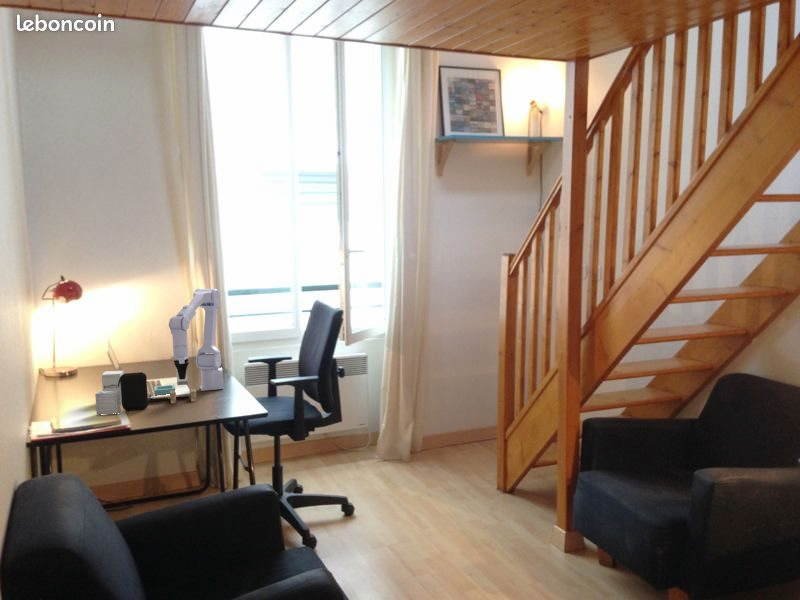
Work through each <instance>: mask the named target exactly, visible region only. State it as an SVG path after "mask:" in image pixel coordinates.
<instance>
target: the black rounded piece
mask: <svg viewBox="0 0 800 600" xmlns="http://www.w3.org/2000/svg"><path fill="white" fill-rule="evenodd" d="M147 380H148V379H147V374H146V373H145V372H141V371H140V372H138V371H137V372H129V373H127V372H126V373H123V375H122V376H121V377H120V379H119V382H118V386H119V384H121V398H122V404H121V408H122V409H123V410H125V411H138V410H139V411H140V410H145V409H147V408H148V407H149V397H148V381H147Z"/></svg>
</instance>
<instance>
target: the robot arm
mask: <svg viewBox="0 0 800 600" xmlns="http://www.w3.org/2000/svg"><path fill="white" fill-rule="evenodd" d="M220 304H221V294H220V291H219V290H218V289H217V288H196V289H195V290H194V291H193V295H192V299H191V301H190V302H189V304H188V305H183V306H182V308H181V309H180V310H179V312H177V314H175V316H172V317H171V318H170V319H169V321H168V327H169V329H170V334H171V335H172V353H173V355H172V356H170V359H173V362H174V363H173V364H174V366H175V368H177V371H178V375H179V379H180V380H181V379H185V377H186V370H187V371H188V366H189V364H190V363H189V359H188V358H189V357H190V356H189V348H188V329H189V328H190V324H191V321H192V319H193V318H194V317H195V315H196V313H197V312H196V310H197V309H198V308H199V307H200V308H202V309H203V310H204V325H203V326H204V327H203V341H202V346H201V347H200V348H199V349H198V350H197V353H196V358H195V365H196V366H197V368H198V370H200V384H201V385H200V386H199V387H200V392H202V391H213V390H224V383H225V382H224V373H223V372H224V371H223V368H222V367H220V366H221V364H222V355H221V353H222V352H221V350H220V349H218V347H216V336H217V335H216V334H217V333H216V332H217V320H218V319H217V317H218V316H217V315H218V309H219V308H220ZM177 371H176V372H177Z"/></svg>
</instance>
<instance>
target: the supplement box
mask: <svg viewBox="0 0 800 600" xmlns="http://www.w3.org/2000/svg"><path fill="white" fill-rule="evenodd" d="M123 374H124V370H110V371H109V370H108V371H107V370H106V371H104V372H103V373H102V374H101V382H102V388H101V389H102V391H120V404H121V405H122V398H121V384H119V386H118V382H119V379H120V377H121V376H122V375H123Z"/></svg>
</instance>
